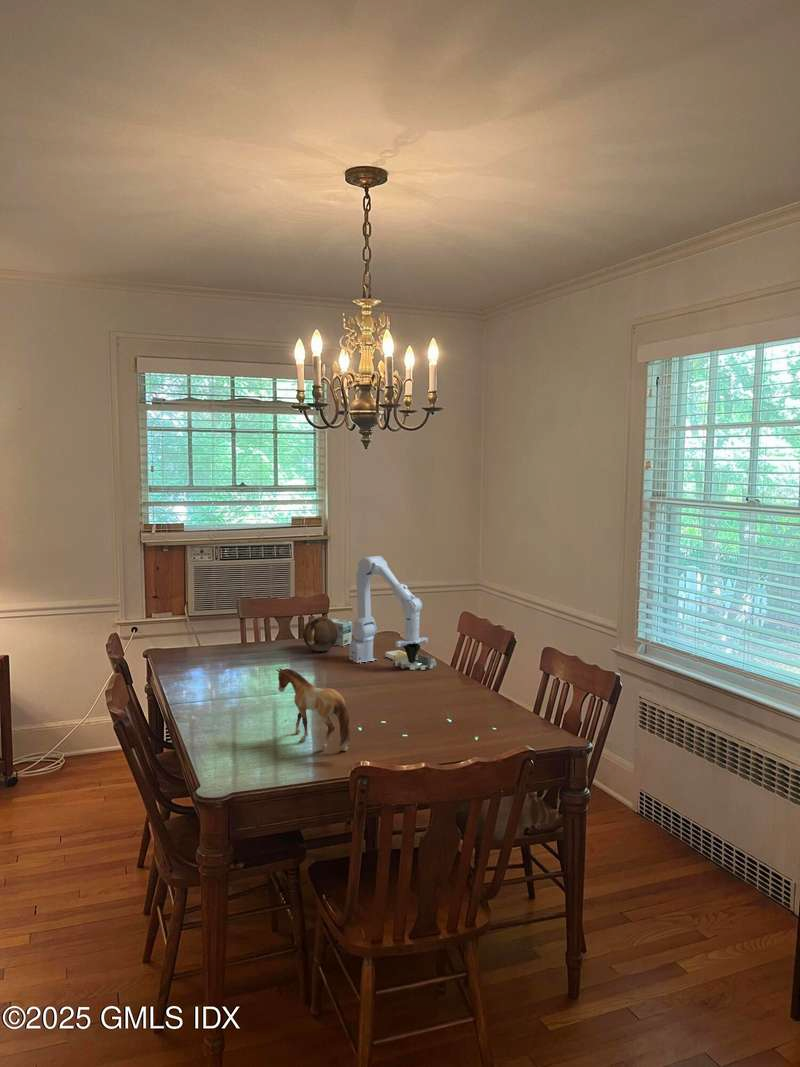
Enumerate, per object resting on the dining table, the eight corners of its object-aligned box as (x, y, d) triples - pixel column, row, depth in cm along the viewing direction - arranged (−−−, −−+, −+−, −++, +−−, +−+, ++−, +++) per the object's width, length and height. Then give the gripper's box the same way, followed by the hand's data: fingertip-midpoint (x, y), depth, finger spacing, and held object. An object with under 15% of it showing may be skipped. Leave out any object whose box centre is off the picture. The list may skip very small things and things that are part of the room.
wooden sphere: (325, 645, 341) (325, 612, 339) (344, 652, 329) (345, 618, 328) (296, 649, 331) (296, 616, 330) (315, 657, 320) (315, 622, 318)
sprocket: (412, 672, 298) (413, 660, 297) (387, 662, 312) (387, 651, 312) (445, 667, 307) (446, 655, 307) (419, 657, 322) (419, 646, 321)
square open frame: (394, 660, 316) (395, 655, 316) (385, 657, 322) (385, 652, 321) (408, 658, 320) (408, 653, 320) (399, 655, 326) (399, 650, 326)
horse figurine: (274, 734, 228) (274, 667, 226) (294, 728, 234) (294, 662, 232) (344, 763, 207) (345, 690, 205) (364, 756, 213) (365, 684, 211)
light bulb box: (352, 644, 343) (352, 621, 342) (343, 647, 338) (343, 623, 337) (333, 641, 349) (333, 618, 348) (324, 643, 343) (324, 620, 342)
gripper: (402, 632, 294) (402, 667, 295) (432, 628, 302) (431, 662, 303) (392, 629, 300) (392, 663, 301) (422, 625, 308) (421, 658, 309)
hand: (411, 662), depth 302 cm, fingers closed
